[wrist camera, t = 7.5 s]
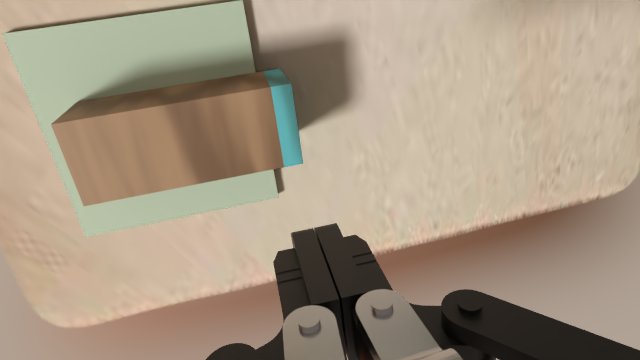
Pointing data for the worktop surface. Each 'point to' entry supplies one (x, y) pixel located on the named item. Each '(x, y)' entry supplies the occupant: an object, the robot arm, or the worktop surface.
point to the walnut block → (179, 135)
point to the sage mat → (133, 76)
